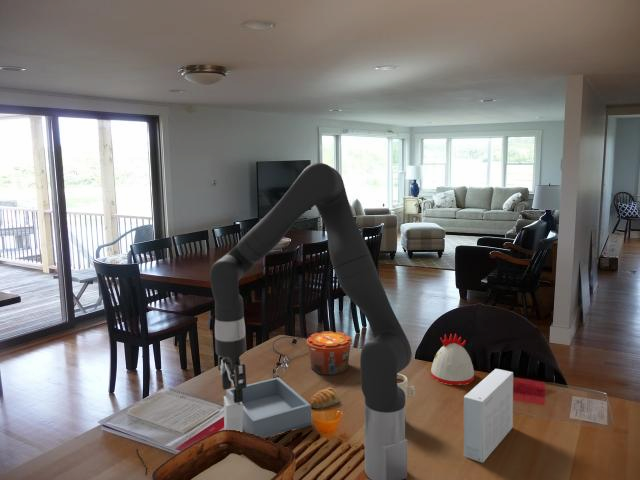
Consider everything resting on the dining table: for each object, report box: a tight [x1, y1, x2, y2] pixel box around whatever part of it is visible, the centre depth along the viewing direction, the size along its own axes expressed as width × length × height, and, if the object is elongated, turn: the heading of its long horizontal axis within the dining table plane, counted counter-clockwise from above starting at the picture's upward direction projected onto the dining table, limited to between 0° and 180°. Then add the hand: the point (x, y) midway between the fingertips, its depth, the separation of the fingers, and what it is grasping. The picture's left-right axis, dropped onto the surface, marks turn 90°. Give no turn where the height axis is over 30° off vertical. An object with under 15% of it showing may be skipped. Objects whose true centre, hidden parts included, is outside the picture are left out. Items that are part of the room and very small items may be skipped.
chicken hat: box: [430, 333, 475, 386], centre depth 172 cm, size 14×14×15 cm
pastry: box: [308, 387, 340, 409], centre depth 156 cm, size 9×7×4 cm
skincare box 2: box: [463, 368, 514, 464], centre depth 133 cm, size 21×5×16 cm, turn 141°
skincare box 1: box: [223, 395, 244, 433], centre depth 134 cm, size 6×4×12 cm
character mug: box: [397, 373, 416, 422], centre depth 143 cm, size 11×7×13 cm, turn 77°
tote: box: [225, 377, 312, 438], centre depth 147 cm, size 21×17×6 cm
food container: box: [306, 330, 353, 375], centre depth 181 cm, size 16×16×11 cm
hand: (232, 395), depth 133 cm, fingers open, 8 cm apart
